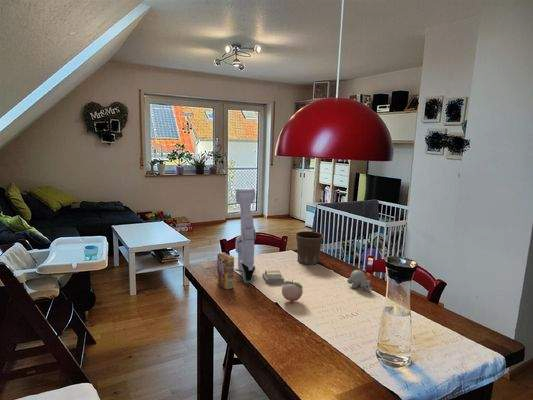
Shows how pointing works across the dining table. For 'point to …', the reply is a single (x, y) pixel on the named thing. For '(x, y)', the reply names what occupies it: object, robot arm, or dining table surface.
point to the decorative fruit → (292, 290)
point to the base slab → (272, 279)
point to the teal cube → (245, 278)
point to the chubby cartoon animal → (359, 280)
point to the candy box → (225, 270)
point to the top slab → (273, 274)
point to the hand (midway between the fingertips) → (247, 278)
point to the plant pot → (308, 246)
